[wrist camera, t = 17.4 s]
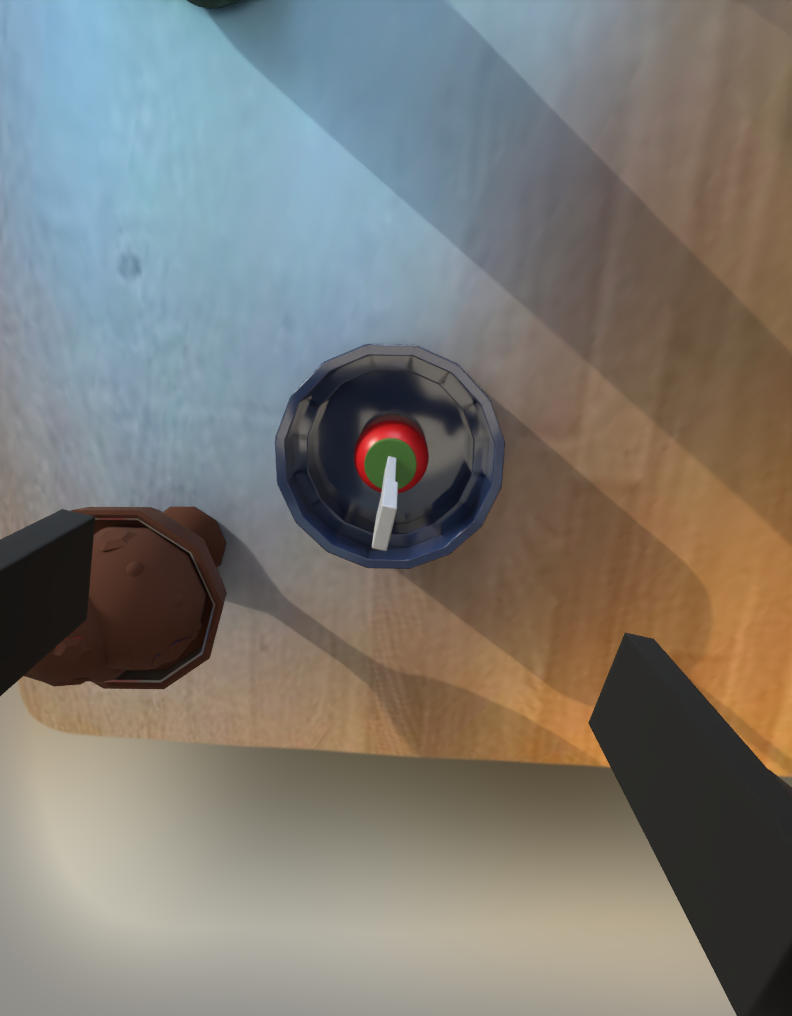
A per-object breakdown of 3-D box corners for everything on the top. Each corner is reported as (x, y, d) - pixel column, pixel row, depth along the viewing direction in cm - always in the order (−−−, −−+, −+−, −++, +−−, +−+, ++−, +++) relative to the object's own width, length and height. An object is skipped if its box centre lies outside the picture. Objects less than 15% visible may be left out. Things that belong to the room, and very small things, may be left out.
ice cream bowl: (152, 630, 40) (14, 788, 26) (82, 492, 37) (-117, 584, 23) (285, 591, 39) (218, 733, 25) (225, 445, 36) (108, 512, 22)
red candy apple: (350, 474, 36) (312, 570, 21) (365, 406, 35) (336, 455, 20) (417, 490, 36) (428, 596, 21) (434, 423, 35) (459, 484, 20)
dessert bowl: (259, 390, 35) (236, 398, 30) (450, 311, 34) (458, 305, 29) (339, 566, 39) (330, 597, 34) (516, 501, 37) (533, 524, 32)
